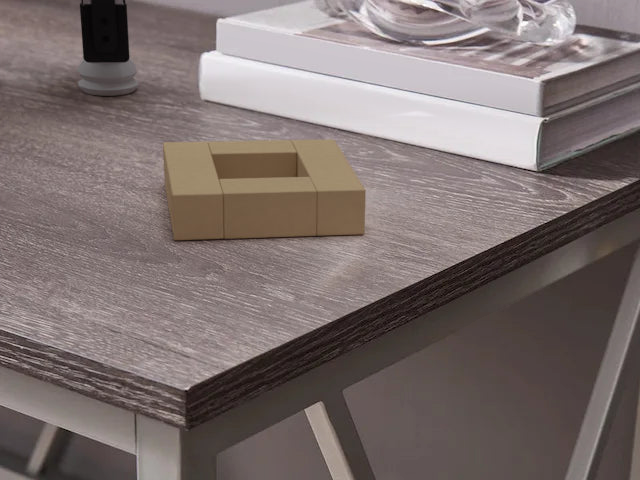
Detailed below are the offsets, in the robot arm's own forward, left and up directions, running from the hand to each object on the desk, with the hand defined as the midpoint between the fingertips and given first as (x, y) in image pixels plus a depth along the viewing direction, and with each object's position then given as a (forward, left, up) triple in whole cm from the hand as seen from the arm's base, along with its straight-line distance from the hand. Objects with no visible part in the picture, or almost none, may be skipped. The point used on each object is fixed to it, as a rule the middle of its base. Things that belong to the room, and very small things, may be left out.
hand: (106, 49), depth 95 cm
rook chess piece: (0, 0, -3) cm, 3 cm away
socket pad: (+8, -29, -3) cm, 30 cm away
